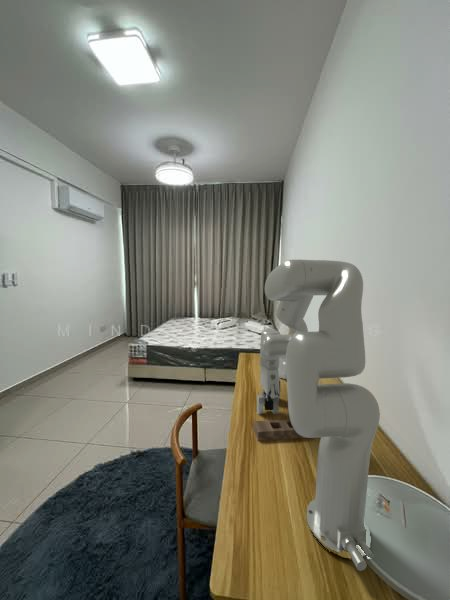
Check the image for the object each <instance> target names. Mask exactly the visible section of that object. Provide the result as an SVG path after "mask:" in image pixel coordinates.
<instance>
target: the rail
mask: <svg viewBox="0 0 450 600" xmlns="http://www.w3.org/2000/svg"><path fill="white" fill-rule="evenodd" d="M253 432H254V434H255V437H256V439H257V441H272V440H273V441H274V440H291V439H292V440H293V439H308V438H307V437H303V436H301V435H299V434H298V433H297V432H296V431H295V430H294V428H293V426H292V424H291V421H290V419H275V420H274V419H272V420H271V419H270V420H253Z"/></svg>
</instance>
